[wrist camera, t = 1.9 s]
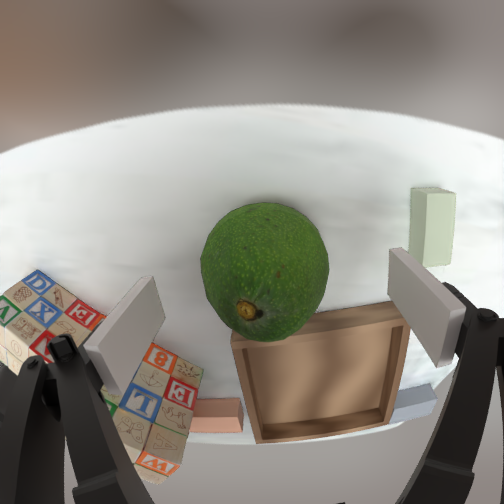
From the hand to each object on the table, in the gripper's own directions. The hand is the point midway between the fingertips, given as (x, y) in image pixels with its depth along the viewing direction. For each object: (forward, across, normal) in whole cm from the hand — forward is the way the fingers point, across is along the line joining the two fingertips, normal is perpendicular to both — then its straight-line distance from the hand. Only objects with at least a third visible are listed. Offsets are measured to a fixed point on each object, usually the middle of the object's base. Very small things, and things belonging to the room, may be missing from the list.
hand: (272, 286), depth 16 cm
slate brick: (+9, +14, -22) cm, 28 cm away
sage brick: (+9, +14, 0) cm, 16 cm away
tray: (+8, +4, -15) cm, 18 cm away
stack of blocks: (+8, -19, -9) cm, 22 cm away
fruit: (+9, 0, 0) cm, 9 cm away
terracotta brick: (+8, -8, -19) cm, 23 cm away
